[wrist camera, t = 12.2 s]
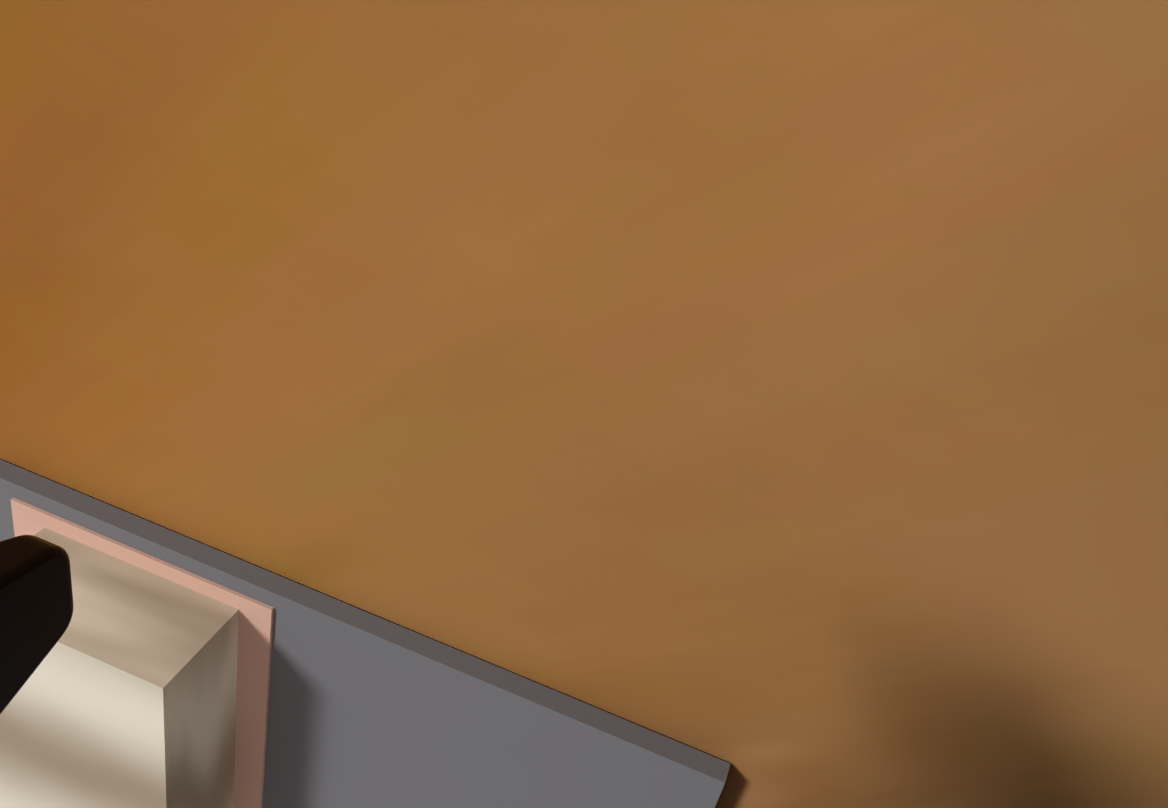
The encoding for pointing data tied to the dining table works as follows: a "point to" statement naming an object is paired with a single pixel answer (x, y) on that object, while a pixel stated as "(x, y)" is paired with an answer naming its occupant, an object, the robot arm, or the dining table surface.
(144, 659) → the block
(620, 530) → the dining table surface
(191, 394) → the dining table surface
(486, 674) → the mat
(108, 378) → the dining table surface
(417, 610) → the dining table surface
